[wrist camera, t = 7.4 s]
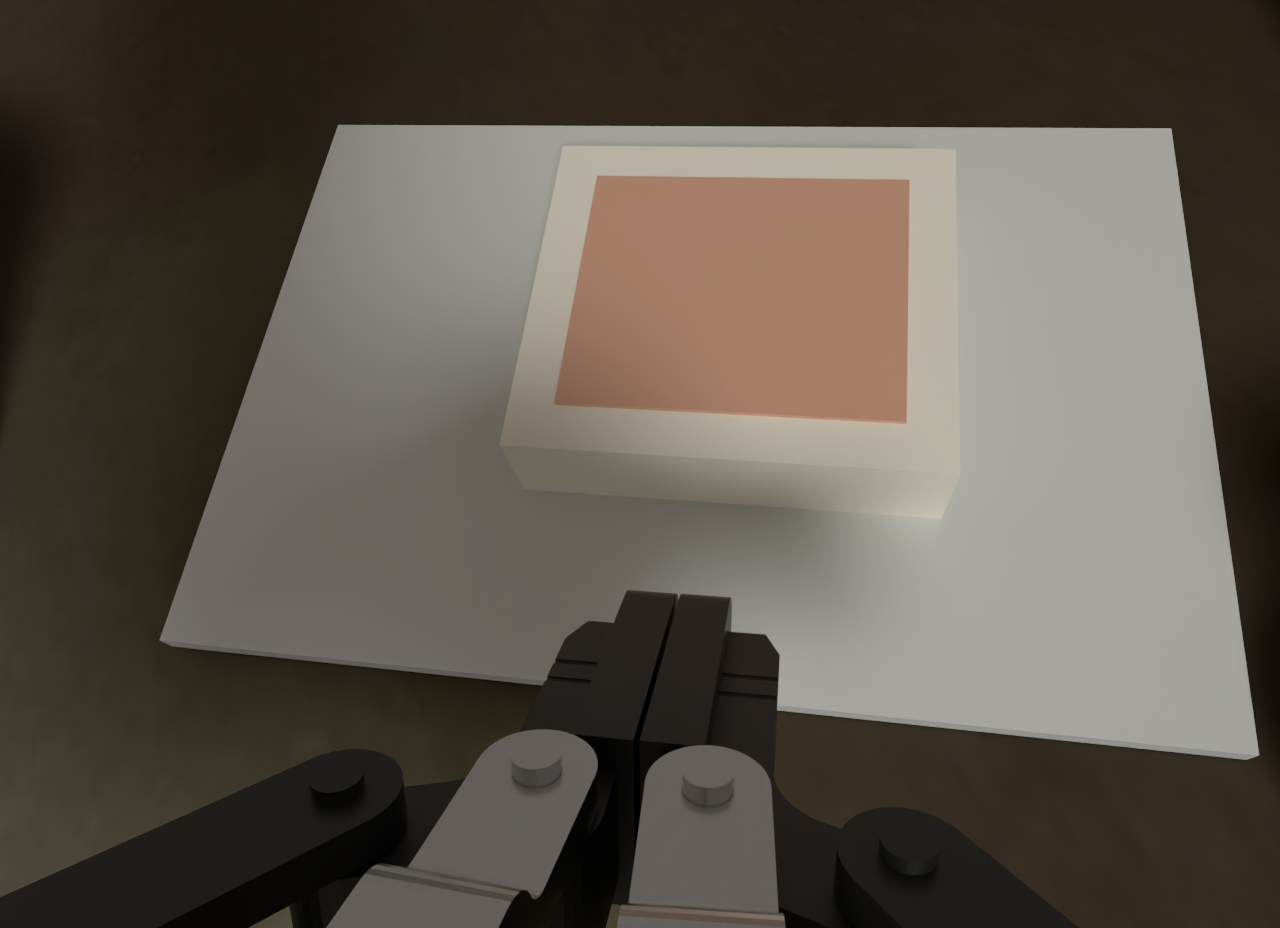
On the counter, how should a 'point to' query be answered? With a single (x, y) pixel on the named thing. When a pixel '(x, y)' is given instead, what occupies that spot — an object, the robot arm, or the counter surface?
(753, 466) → the box
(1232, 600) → the mat
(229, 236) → the counter surface
